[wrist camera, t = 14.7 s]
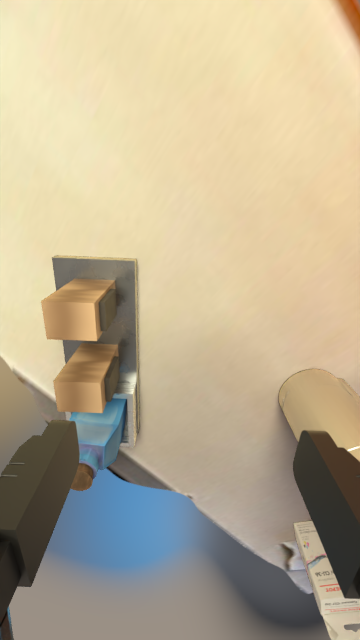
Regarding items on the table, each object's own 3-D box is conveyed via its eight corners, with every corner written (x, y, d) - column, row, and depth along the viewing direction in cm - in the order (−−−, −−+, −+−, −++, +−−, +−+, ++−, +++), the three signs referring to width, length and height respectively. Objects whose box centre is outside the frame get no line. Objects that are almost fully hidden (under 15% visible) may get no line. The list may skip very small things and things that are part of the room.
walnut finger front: (119, 280, 35) (100, 303, 27) (121, 310, 37) (102, 341, 28) (74, 278, 35) (41, 301, 27) (77, 308, 36) (47, 339, 28)
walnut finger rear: (122, 344, 38) (106, 383, 30) (123, 370, 40) (107, 413, 32) (81, 343, 38) (53, 381, 30) (83, 368, 40) (57, 411, 31)
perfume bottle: (124, 427, 44) (104, 502, 33) (84, 422, 43) (50, 496, 32) (127, 394, 41) (107, 463, 30) (85, 389, 41) (49, 457, 30)
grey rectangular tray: (136, 258, 35) (131, 264, 32) (139, 427, 46) (135, 447, 42) (57, 255, 35) (42, 261, 32) (77, 425, 46) (68, 444, 42)
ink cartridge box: (337, 515, 53) (391, 621, 40) (338, 532, 55) (389, 638, 42) (292, 522, 54) (329, 628, 41) (294, 538, 56) (330, 644, 42)
